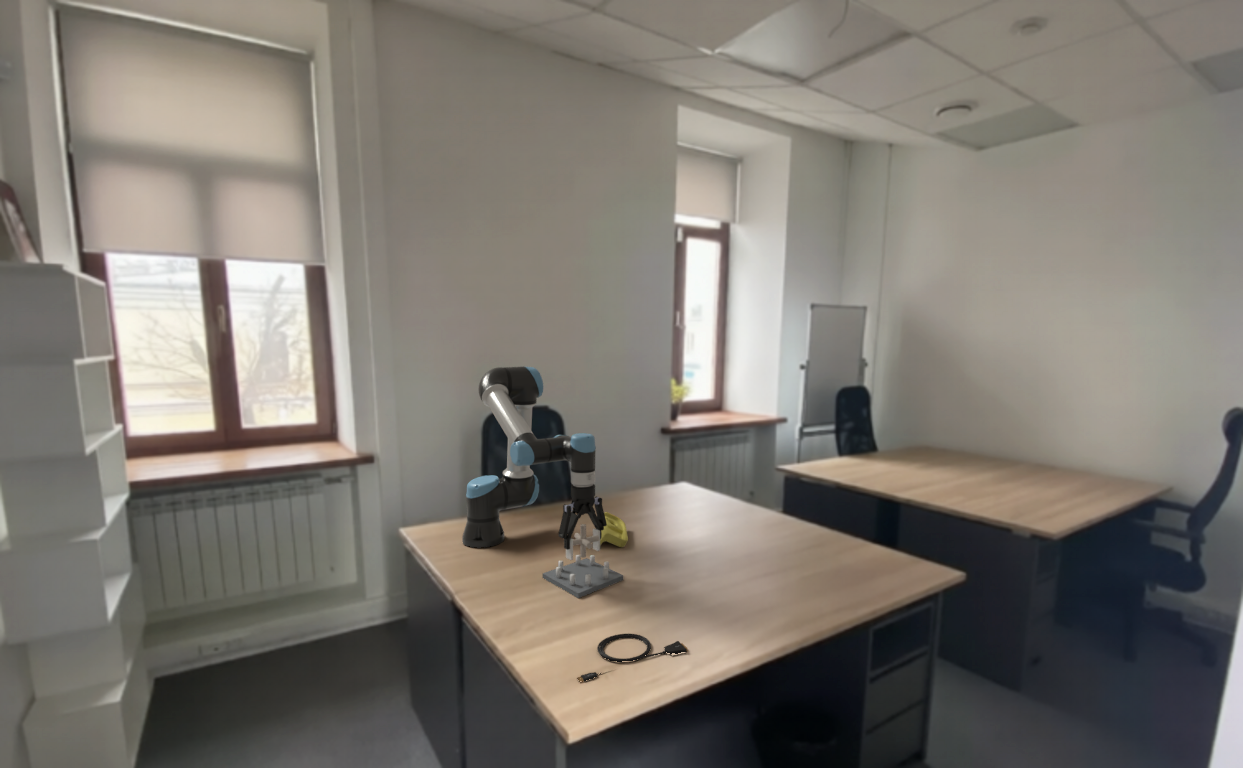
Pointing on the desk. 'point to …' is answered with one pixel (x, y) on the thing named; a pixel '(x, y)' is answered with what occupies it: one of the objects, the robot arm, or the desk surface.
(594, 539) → the pipe connector
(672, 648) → the cable
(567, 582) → the grey peg board
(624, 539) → the plastic component
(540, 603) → the desk surface
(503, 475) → the robot arm
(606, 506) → the desk surface
